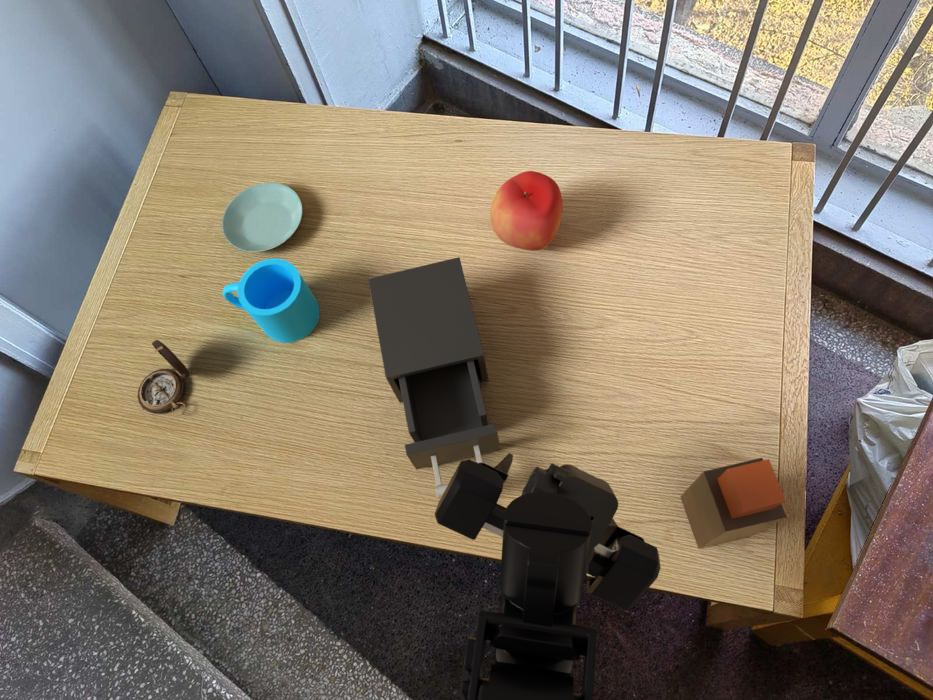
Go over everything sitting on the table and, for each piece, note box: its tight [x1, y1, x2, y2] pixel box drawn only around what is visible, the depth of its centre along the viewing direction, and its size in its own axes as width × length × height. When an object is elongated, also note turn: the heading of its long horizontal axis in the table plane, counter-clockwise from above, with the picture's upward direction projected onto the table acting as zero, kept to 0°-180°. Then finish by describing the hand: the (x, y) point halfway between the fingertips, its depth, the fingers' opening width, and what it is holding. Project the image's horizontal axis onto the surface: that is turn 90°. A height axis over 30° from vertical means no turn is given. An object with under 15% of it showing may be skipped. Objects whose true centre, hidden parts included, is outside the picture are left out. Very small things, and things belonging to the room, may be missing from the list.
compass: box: [137, 339, 191, 417], centre depth 86 cm, size 8×8×7 cm
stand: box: [680, 457, 787, 549], centre depth 72 cm, size 6×6×12 cm
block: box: [717, 458, 787, 519], centre depth 64 cm, size 4×4×4 cm
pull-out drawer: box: [399, 360, 501, 500], centre depth 80 cm, size 17×10×7 cm, turn 12°
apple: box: [489, 170, 564, 251], centre depth 90 cm, size 10×10×10 cm
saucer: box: [221, 182, 303, 253], centre depth 98 cm, size 12×12×2 cm
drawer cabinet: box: [367, 256, 489, 403], centre depth 85 cm, size 14×12×9 cm
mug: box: [222, 258, 321, 344], centre depth 89 cm, size 12×8×8 cm
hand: (552, 477), depth 65 cm, fingers open, 9 cm apart
